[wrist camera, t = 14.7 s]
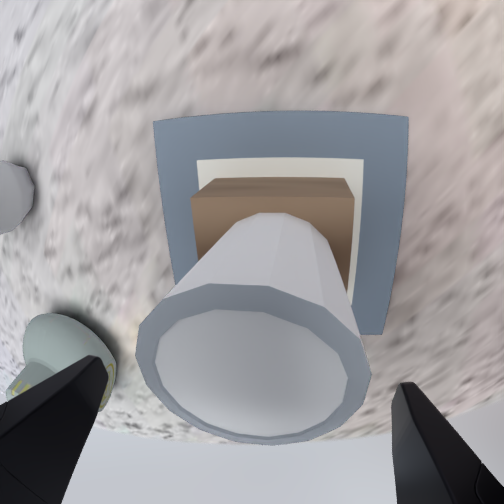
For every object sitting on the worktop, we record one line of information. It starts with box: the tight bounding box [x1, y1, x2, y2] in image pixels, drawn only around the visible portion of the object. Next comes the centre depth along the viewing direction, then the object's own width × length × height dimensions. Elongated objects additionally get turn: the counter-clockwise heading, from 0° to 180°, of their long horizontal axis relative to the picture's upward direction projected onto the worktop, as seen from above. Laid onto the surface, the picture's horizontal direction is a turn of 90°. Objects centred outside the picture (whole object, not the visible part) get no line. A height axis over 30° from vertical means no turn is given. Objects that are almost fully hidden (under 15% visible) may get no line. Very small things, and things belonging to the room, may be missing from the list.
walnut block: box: [190, 177, 355, 293], centre depth 16 cm, size 7×7×4 cm
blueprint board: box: [153, 111, 408, 335], centre depth 18 cm, size 14×14×1 cm
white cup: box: [135, 213, 372, 445], centre depth 11 cm, size 7×7×7 cm
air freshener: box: [6, 313, 116, 412], centre depth 23 cm, size 11×8×10 cm
